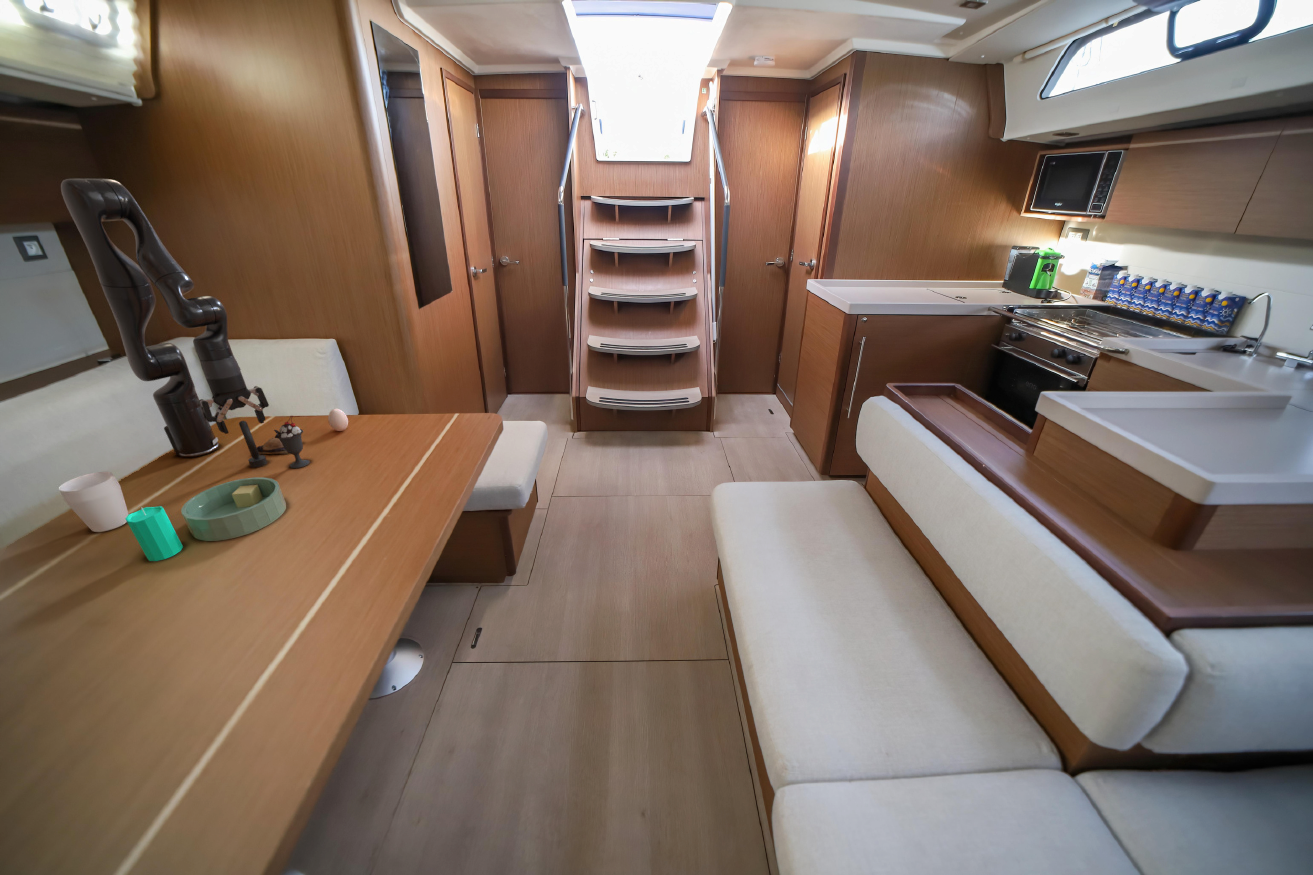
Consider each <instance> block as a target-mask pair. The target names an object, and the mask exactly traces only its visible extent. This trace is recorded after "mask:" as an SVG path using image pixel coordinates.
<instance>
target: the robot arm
mask: <svg viewBox="0 0 1313 875" xmlns="http://www.w3.org/2000/svg"><path fill="white" fill-rule="evenodd" d="M60 191H61V192H60V193H61V195H62V198H63V201H64V204H65V205H66V208H67V210H68V212H69V214H70V217H71V218H72V220H73V222H74V224H75V226H76V228H77V230H78V232H79V234H80V236H81V238H82V240H83V242H84V244H85V247H86V249H87V252H88V254H89V256H90V258H91V261H92V263H93V266H94V269H95V272H96V275H97V278H98V280H99V283H100V287H101V288H102V291H103V294H104V296H105V298H106V300H107V303H108V305H109V307H110V310H111V312H112V314H113V317H114V320H115V322H116V324H117V328H118V330H119V334H120V338H121V340H122V345H123V348H124V351H125V356H126V358H127V361H128V362H127V363H128V364H129V366H130V369H131V371H132V372H133V374H134V375H135V376H136V377H137V378H138V379H139V380H140V381H141V382H142V381H143V382H153V381H158V380H161V379H166V378H169V379H168V381H167V382H166V383H165V384H164V385H162V386H161V387H160V388H158V389H156V390H155V391H154V392H153V394H152V397H153V401H154V402H155V404H156V407H157V408H158V410H159V412H160V414H161V417H162V419H163V421H164V423H165V425H166V426H164V427H163V430H164V432H165V434H166V436H167V438H168V440H169V443H170V445H171V447H172V449H173V451H174V453H175V456H176V457H181V458H196V457H201V456H205V455H208V454H211V453H213V452H215V451H217V450H218V449H219V448H220V444H219V442H218V441H219V438H218V436H215V432H214V431H213V428H212V426H211V423H216V426H217V428H218V430H219V431H220V432H221V433H223V434H225V435H227V434H229V433H230V432H229V430H228V427H227V425H226V422H225V421H224V418H225V416H226V415H227V413H228V412H229V411H234V410H237V409H243V408H245V407H246V406H249V407H251V408H252V409H254V413H255V416H256V419H257V422H258V423H259V424H265V421H266V416H265V414H264V409H265V408H268V407H269V406H270V404H269V402H268V400H267V397H266V395H265V393H264V391H263V388H262V387H260V386H257V385H255V386H253V388H249V389H248V387H247V385H246V382H245V379H244V376H243V374H242V371H241V370H242V369H241V367H240V365H239V363H238V361H237V359H236V357H235V355H234V353H233V350H232V348H231V345H230V342H229V332H228V331H229V329H228V313H227V310H226V308H225V306H224V304H223V302H222V301H220V300H219V299H218V298H216V297H214V296H211V295H203V296H196V297H190V298H186V297H184V295H186V294H188V293H190V292H191V291H192V290H193V289H194V287H195V283H194V281H193V280H192V278H191V277H190V276H189V274H188V273H187V272H186V270H184V269H183V267H182V266H181V265H180V264H179V262H178V261H177V260H176V259H175V258H174V257H173V256H172V254H171V253H170V252H169V250H168V249H167V248H166V246H165V245H164V243H163V242H162V240H161V239H160V236H159V235H158V233H157V231H156V230H155V228H154V227H153V226H152V224H151V222H150V221H149V219H148V217H147V216H146V214H145V213H144V211H143V210H142V208H141V207H140V205H139V204H138V202H137V201H136V199H135V197H134V196H133V195H132V194H131V192H130V191H129V190H128V189H127V188H126V187H125V186H124V185H123V184H122V183H121V182H119V181H118V180H115V179H109V178H66V179H63V180H62V181H61V183H60ZM116 221H123V222H124V223H125V224H127V226H128V227H129V228H130V229H131V230H132V233H133V234H134V239H135V255H136V260H137V262H136V261H135V260H133V259H132V258H131V257H130V256H128V255H127V254H125V252H123V251H122V250H121V249H120V248H118V246H116V245H115V244H114V242H113V241H112V240H111V239H110V237H109V235H108V233H107V231H106V230H105V227H104V225H103V222H116ZM152 283H153V285H154V286H155V287H156V288H157V289H158V290H159V293H160V294H161V296H162V298H163V300H164V302H165V304H166V306H167V309H168V310H169V313H170V315H171V317H172V319H173V320H174V321H175V322H176V323H177V324H178V325H179V326H181V327H183V328H186V329H197V328H202V327H205V330H204V332H202V333H201V334H200V335H198V336H195V337H194V338H193V340H192V344H193V346H194V349H195V351H196V354H197V357H198V360H199V362H200V366H201V370H202V372H203V375H204V377H205V379H206V382H207V384H208V387H209V389H210V392H211V394H212V397H211V398H208V399H203V398H202V399H200V398H199V395H198V393H197V390H196V386H195V383H194V381H193V378H192V375H191V372H190V370H189V366H188V363H187V361H186V358H185V355H184V354H183V353H182V351H181V350H180V348H179V347H178V346H176V345H175V344H174V343H172V342H164V343H162V342H161V343H157V344H153V345H148V346H146V341H145V335H146V334H145V333H146V328H147V326H148V323H149V321H150V320H151V317H152V315H153V313H154V310H155V307H156V302H157V298H156V294H155V291H154V289H153V285H152ZM251 395H254V396H255V397H256V398H257V399H258V401H259V403H258V404H256V403H255V402H253V401H251V400H250V397H251ZM213 404H216V405H218V406H217V407H216V409H215V414H214V415H213V414H212V410H211V408H212V407H213Z"/></svg>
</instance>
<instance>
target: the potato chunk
mask: <svg viewBox="0 0 1313 875" xmlns="http://www.w3.org/2000/svg"><path fill="white" fill-rule="evenodd" d="M232 496H233V499H234V501H235V503H236V506H237V508H240V507H251V506H254V505H256V504H257V503H258V502H259V501H260V500H261V499H262V498H263V497H262V494H261V492H260V489H259V487H258V485H248V486H240V487H239V488H238V489H237V490H236V491H235V492H234V493H233V494H232Z"/></svg>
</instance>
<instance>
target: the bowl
mask: <svg viewBox="0 0 1313 875" xmlns="http://www.w3.org/2000/svg"><path fill="white" fill-rule="evenodd" d="M248 485H258V487H259V489H260V492H261V494H262V497H263V498H262V499H261V500H260V501H259V502H258V503H257V504H256V505H254V506H251V507H240V508H237V506H236V503H235V501H234V499H233V496H232V494H233V493H234V492H235V491H236V490H237V489H238V488H239V487H240V486H248ZM286 509H287V502H286V500H285V497H284V494H283V491H282V489H281V486H280V484H279V482H278V481H277V480H276V479H273V478H269V477H260V476H259V477H257V476H256V477H254V476H253V477H246V478H239V479H235V480H230V481H227V482H223V483H220V484H218V485H214V486H211V487H210V488H207V489H205V490H203V491H201V492H199V493H197V494H195V495H194V496H192V497H191V498H189V499H188V500H187V501H186V502H185V503H184V504H183V506H182V507H181V509H180V511H181V516H182V518H183V520H184V522H185V524H186V527H187V529H188V531H189V532H190V535H192V536H193V537H194V538H195V539H197V540H199V541H203V542H205V541H206V542H219V541H226V540H227V541H228V540H231V539H236V538H239V537H244V536H246V535H249V534H252V533H254V532H257V531H259V530H261V529H264V528H265V527H267V526H269V525H270V524H272V523H274V522H275V521H277V520H278V519H280V517H281V516H282V515H283V514H284V513H285V512H286Z"/></svg>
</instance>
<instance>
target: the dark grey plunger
mask: <svg viewBox="0 0 1313 875" xmlns="http://www.w3.org/2000/svg"><path fill="white" fill-rule="evenodd" d="M238 426H239V428H240V431H241V433H242V435H243V438H244V440H245V443H246V445H247V448H248V451H249V453H250V456H251V457H250V458H248V460H247V461H248V464H249V466H250V467H251V468H253V469H255V468H260V467H264V466H265V465H267V464H268V460H267V458H266V455H265V454H259V452H258V450H257V447H258V446H257V445H256V442H255V440H254V438H253V434H252V432H251V429H250V427H249V424H248V422H247V421H246V420H240V421H239V423H238Z"/></svg>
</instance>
